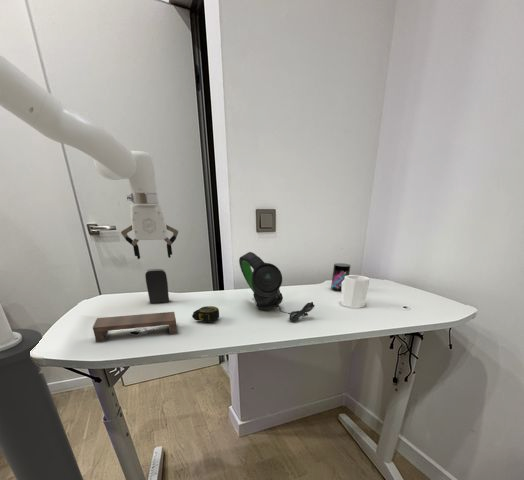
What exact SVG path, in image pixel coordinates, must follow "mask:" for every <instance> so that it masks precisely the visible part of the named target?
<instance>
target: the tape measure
mask: <svg viewBox="0 0 524 480" xmlns="http://www.w3.org/2000/svg"><path fill="white" fill-rule="evenodd" d="M191 317H192V318H193V320H194V321H197V322H198V321H199V322H203V323H212V322H216V321H218V320H219V318H220V309H219V308H218V307H217V306H213V305H209V306H207V305H206V306H202V307H199V308H198V309H197V310H194V311H193V313H192V314H191Z"/></svg>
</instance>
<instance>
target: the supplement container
mask: <svg viewBox="0 0 524 480" xmlns="http://www.w3.org/2000/svg"><path fill="white" fill-rule="evenodd" d="M351 267H352V266H351V264H348V263H342V262H341V263H340V262H337V263H336V262H335V263H333V271H332V277H331V284H330V289H331V290H332V291H335V292H342V281H343V280H344V278H345V276H348V275H350V271H351Z"/></svg>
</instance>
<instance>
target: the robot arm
mask: <svg viewBox="0 0 524 480" xmlns="http://www.w3.org/2000/svg"><path fill="white" fill-rule="evenodd" d="M0 107H2V108H3V109H5V110H6V111H8V112H10V113H11V114H12V115H14V116H15V117H17V118H18V119H20V120H21V121H23V122H24V123H26V124H27V125H29V126H30V127H31V128H33V129H34V130H35V131H37V132H38V133H40V134H41V135H43V136H45V137H46V138H47V139H50V140H52V141H53V142H56V143H59V144H63V145H66V146H69V147H72V148H74V149H75V150H76V149H77V150H79V151H81V152H83V153H84V154H86V155H88V156H89V157H90V158H92V159H93V165H94V167H95V169H96V171H97V172H98V174H99V175H100V176H101V177H103V178H105V179H107V180H109V181H110V180H111V181H118V180H128V182H129V188H130V194H128V195H126V201H129V202H132V204H130V221H131V225H130V226H127V227H125V228H124V229H122V230H121V231H120V234H121V235H122V237H123V238H124V239H125V241H126V242H127V243H129V244H130V245H131V246H132V247H133V248H132V249H133V254H134V257H136V258H137V260H141V253H140V249H139V248H140V247H139V245H138V242H139V241H162V240H163V241H164V242H165V243H166V251H167V257H168V258H169V259H170V258H171V257H172V255H173V249H172V245H173V243H174V242H175V241H176V240H177V237H178V235H179V229H176V228H174V227H173V226H170V225H168V224H167V222H166V217H165V212H164V208H163V206H162V204H160V202H159V194H158V188H157V187H158V186H157V180H156V173H155V172H156V171H155V163H154V158H153V155H152V154H151V153H150V152H147V151H143V150H130V148H128V147H127V146H126V145H125V143H123V142H121V141H120V140H119V139H118V138H117V137H115V136H114V135H113V134H112V133H110V132H109V131H108V130H106V129H105V128H104V127H102V126H101V125H100V124H98V123H97V122H95V121H93V120H91V119H90V118H88V117H87V116H84V115H83V114H81V113H79V112H78V111H76V110H75V109H73V108H71V107H70V106H67V104H65V103H63V102H62V101H60V99H59V100H58V98H56V97H55V96H54V95H53V94H51V93H50V92H49V91H47V90H46V89H45V88H44V87H42V86H41V85H40V84H38V83H37V82H36V81H35V80H34V79H32V78H31V77H30V76H28V75H27V74H26V73H25V72H23V71H22V70H21V69H20V68H18V67H17V66H16V65H14V64H13V63H12V62H11V61H10V60H8V59H7V58H6V57H5V56H3V55H2V54H0ZM168 231H169V232H172V236H171V237H170V238H169V237H168ZM130 232H132V234H133V237H134V239H132V238H131V237H130V236H129V235H128V233H130ZM11 329H12V328H11V325H10V323H9V320H8V318H7V315H6V312H5V311H4V309H3V306H2V303H1V302H0V352H1V351H4V350H7V349H10V348H12V347H14V346H16V345H18V344H19V343H20V342H21V341H22V336H21V334H19V333H17V332H12V330H11Z"/></svg>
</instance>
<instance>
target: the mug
mask: <svg viewBox="0 0 524 480" xmlns="http://www.w3.org/2000/svg"><path fill="white" fill-rule="evenodd" d="M369 284H370V278H369V277H368V276H364V275H361V274H349V275H348V276H345V278H344V280H343V281H342V291H341V297H340V304H341V306H343V307H346V308H351V309H361V308H364V307H365V306H366V300H367V295H368V291H369Z"/></svg>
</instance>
